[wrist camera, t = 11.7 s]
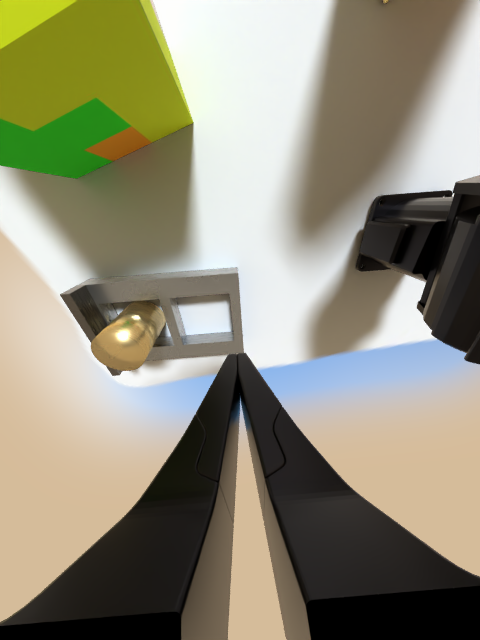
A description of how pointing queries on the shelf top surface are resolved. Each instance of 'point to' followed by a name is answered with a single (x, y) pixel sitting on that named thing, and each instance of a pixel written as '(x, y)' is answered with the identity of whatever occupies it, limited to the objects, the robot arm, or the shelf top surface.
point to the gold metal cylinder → (129, 336)
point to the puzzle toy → (83, 83)
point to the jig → (98, 312)
